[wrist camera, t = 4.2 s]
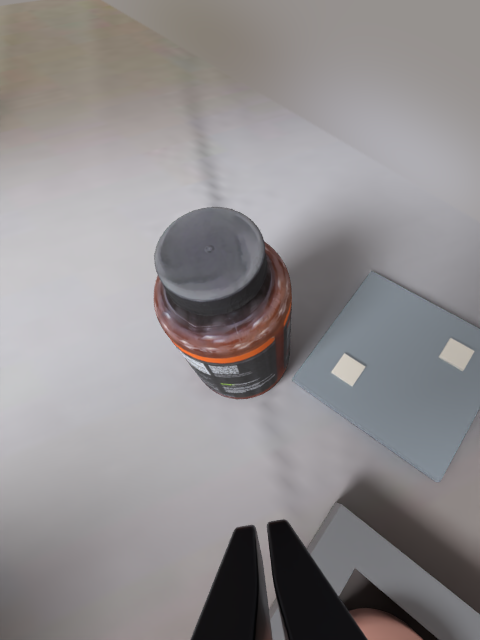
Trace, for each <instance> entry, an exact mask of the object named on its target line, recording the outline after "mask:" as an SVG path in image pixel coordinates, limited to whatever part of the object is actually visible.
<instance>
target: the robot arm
mask: <svg viewBox="0 0 480 640" xmlns="http://www.w3.org/2000/svg"><path fill="white" fill-rule="evenodd" d="M267 532H268V541H269V550H270V559H271V567H272V575H273V582H274V588H275V593H276V598H277V602H278V607H279V612H280V617H281V622H282V627H283V632H284V637H285V640H368V639H367V638H366V636H365V635H364V633H363V632H362V630H361V629H360V627H359V626H358V624H357V623H356V621H355V620H354V618H353V617H352V616H351V614H350V613H349V611H348V610H347V608H346V607H345V605H344V604H343V602H342V601H341V599H340V598H339V596H338V595H337V593H336V592H335V590H334V589H333V587H332V586H331V584H330V583H329V581H328V580H327V579H326V577H325V576H324V574H323V573H322V571H321V570H320V568H319V567H318V565H317V564H316V562H315V561H314V559H313V558H312V556H311V555H310V553H309V552H308V550H307V549H306V547H305V546H304V544H303V543H302V542H301V540H300V539H299V537H298V536H297V534H296V533H295V531H294V530H293V528H292V527H291V525H290V524H289V522H288V521H287V520H277V521H271V522H269V523H268V524H267ZM191 640H273V638H272V630H271V623H270V615H269V607H268V599H267V591H266V583H265V575H264V568H263V561H262V555H261V550H260V545H259V540H258V536H257V531H256V527H255V526H254V525H248V526H242V527H237V528H236V529H235V530H234V532H233V534H232V537H231V539H230V542H229V544H228V547H227V549H226V552H225V554H224V557H223V559H222V562H221V564H220V567H219V569H218V572H217V574H216V577H215V579H214V582H213V584H212V587H211V590H210V592H209V595H208V597H207V600H206V602H205V605H204V607H203V610H202V612H201V615H200V617H199V620H198V622H197V625H196V627H195V630H194V632H193V635H192V637H191Z"/></svg>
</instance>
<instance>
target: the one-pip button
mask: <svg viewBox="0 0 480 640" xmlns="http://www.w3.org/2000/svg"><path fill="white" fill-rule="evenodd" d="M349 613H350V614H351V616H352V617H353V618H354V620H355V621H356V623H357V624H358V626H359V627H360V629H361V630H362V632H363V633H364V635H365V636H366V638H367V639H368V640H423V639H422V638H421V637H420V636H419V635H418V634H417V633H416V632H415V631H414V630H413V629H412V628H411V627H410V626H409V625H408V624H406V623H405V622H404V621H402V620H401V619H399V618H398V617H396V616H394V615H392V614H390V613H387V612H385V611H382V610H378V609H372V608H359V609H354V610H350V611H349Z"/></svg>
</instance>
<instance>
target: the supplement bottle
mask: <svg viewBox="0 0 480 640" xmlns="http://www.w3.org/2000/svg"><path fill="white" fill-rule="evenodd" d="M154 259H155V267H156V272H157V274H158V276H157V279H156V283H155V287H154V307H155V312H156V315H157V318H158V320H159V322H160V324H161V326H162V328H163V330H164V331H165V333H166V334H167V335H168V337H169V338H170V339H171V341H172V342H173V343H174V345H175V346H176V347H177V348H178V350H179V351H180V352H181V354H182V355H183V356H184V358H185V359H186V360H187V362H188V363H189V364H190V365H191V367H192V368H193V369H194V371H195V372H196V373H197V375H198V376H199V377H200V378H201V380H202V381H203V382H204V383H205V384H206V385H207V386H208V387H209V388H210V389H212V390H213V391H215V392H216V393H218V394H220V395H221V396H224V397H228V398H233V399H248V398H253V397H256V396H259V395H261V394H264V393H265V392H267V391H268V390H270V389H271V388H272V387H273V386H274V385H275V384H276V383H277V382H278V381H279V380H280V378H281V377H282V375H283V374H284V372H285V370H286V367H287V364H288V359H289V354H290V331H291V310H292V309H291V305H292V303H291V299H292V294H291V283H290V277H289V274H288V271H287V268H286V266H285V264H284V262H283V261H282V259H281V257H280V256H279V255H278V254H277V253H276V252H275V250H274V249H273V248H272V247H271V246H270V245H268V244H267V243H266V242H264V240H263V237H262V234H261V232H260V230H259V229H258V227H257V226H256V225H255V224H254V222H253V221H251V219H250V218H248V217H247V216H245V215H243V214H242V213H240V212H237V211H235V210H232V209H229V208H222V207H211V208H202V209H198V210H194V211H192V212H189V213H187V214H185V215H183V216H182V217H180V218H178V219H177V220H176V221H174V222H173V223H172V224H171V225H170V226H169V227H168V228H167V229H166V230H165V232H164V233H163V235H162V236H161V237H160V239H159V241H158V244H157V246H156V251H155V254H154Z"/></svg>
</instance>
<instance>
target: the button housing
mask: <svg viewBox="0 0 480 640" xmlns="http://www.w3.org/2000/svg"><path fill="white" fill-rule="evenodd" d="M307 550H308V552H309V553H310V555H311V556H312V558H313V559H314V561H315V562H316V564H317V565H318V567H319V568H320V570H321V571H322V573H323V574H324V576H325V577H326V579H327V580H328V581H329V583H330V584H331V586H332V587H333V589H334V590H335V592H336V593H337V595H338V596H339V595H340V594H341V592H342V590H343V588H344V587H345V585H346V583H347V581H348V580H349V578H350V576H351V574H352V573H353V571H354V569H357V570H358V571H359V572H360V573H361V574H362V575H364V576H365V577H366V578H367V579H368V580H370V581H371V582H372V583H373V584H374V585H375V586H377V587H378V588H379V589H380V590H381V591H382V592H384V593H385V594H386V595H387V596H388V597H389V598H391V599H392V600H393V601H394V602H395V603H397V604H398V605H399V606H400V607H401V608H402V609H404V610H405V611H406V612H407V613H408V614H409V615H411V616H412V617H413V618H414V619H415V620H417V621H418V622H419V623H420V624H421V625H422V626H424V627H425V628H426V629H427V630H428V631H429V632H431V633H432V634H433V635H434V636H435V637H437V638H438V639H439V640H480V614H479V613H477V612H476V611H475V610H474V609H472V608H471V607H470V606H469V605H467V604H466V603H465V602H464V601H462V600H461V599H460V598H459V597H457V596H456V595H455V594H454V593H452V592H451V591H450V590H449V589H447V588H446V587H445V586H444V585H442V584H441V583H440V582H439V581H437V580H436V579H435V578H433V577H432V576H431V575H430V574H428V573H427V572H426V571H425V570H423V569H422V568H421V567H420V566H418V565H417V564H416V563H415V562H413V561H412V560H411V559H410V558H408V557H407V556H406V555H405V554H403V553H402V552H401V551H400V550H398V549H397V548H396V547H395V546H393V545H392V544H391V543H390V542H388V541H387V540H386V539H385V538H383V537H382V536H381V535H379V534H378V533H377V532H376V531H374V530H373V529H372V528H371V527H369V526H368V525H367V524H366V523H364V522H363V521H362V520H361V519H359V518H358V517H357V516H356V515H354V514H353V513H352V512H351V511H349V510H348V509H347V508H346V507H344V506H343V505H342V504H339V503H335V504H334V506H333V507H332V509H331V511H330V512H329V514H328V515H327V517H326V519H325V520H324V522H323V523H322V525H321V527H320V528H319V530H318V531H317V533H316V535H315V536H314V538H313V540H312V541H311V543H310V544H309V546H308V548H307ZM269 615H270V623H271V630H272V638H273V640H285V637H284V632H283V627H282V622H281V617H280V612H279V607H278V602H277V598H276V599H275V601H274V603H273V604H272V606H271V607H270V609H269Z"/></svg>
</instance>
